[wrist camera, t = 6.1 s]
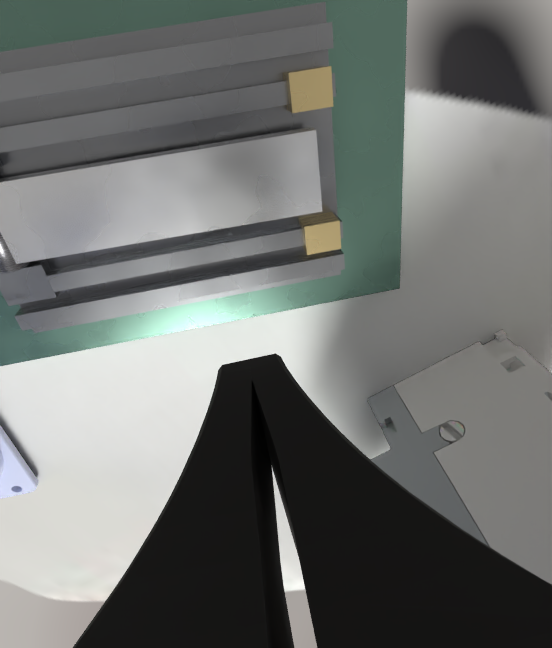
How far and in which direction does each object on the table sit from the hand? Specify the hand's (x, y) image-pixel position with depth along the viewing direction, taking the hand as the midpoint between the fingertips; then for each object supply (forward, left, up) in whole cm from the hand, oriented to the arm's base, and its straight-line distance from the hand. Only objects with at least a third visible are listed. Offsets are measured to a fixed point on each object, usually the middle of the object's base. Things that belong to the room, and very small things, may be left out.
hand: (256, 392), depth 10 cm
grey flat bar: (-2, +3, -6) cm, 8 cm away
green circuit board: (-2, +3, -10) cm, 11 cm away
